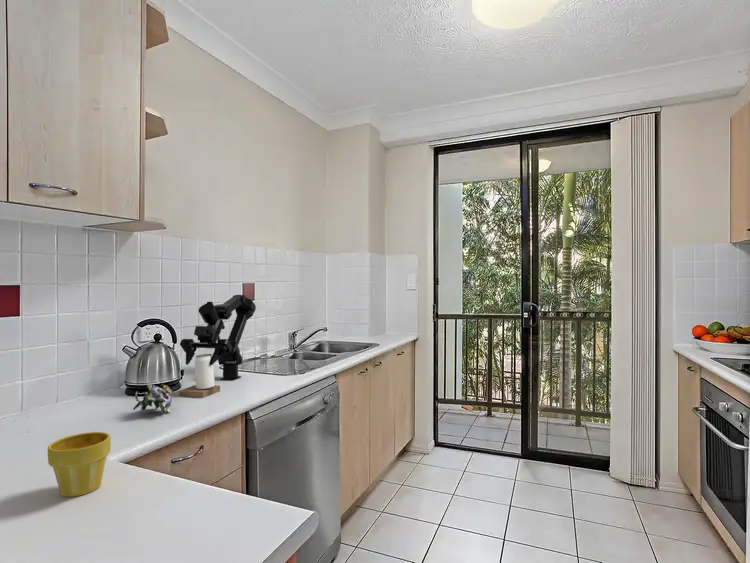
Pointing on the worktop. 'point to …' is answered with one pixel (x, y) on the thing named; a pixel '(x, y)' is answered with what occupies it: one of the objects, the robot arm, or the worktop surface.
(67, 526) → the worktop surface
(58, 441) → the plant pot
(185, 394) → the walnut block
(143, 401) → the passion flower
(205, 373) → the can
